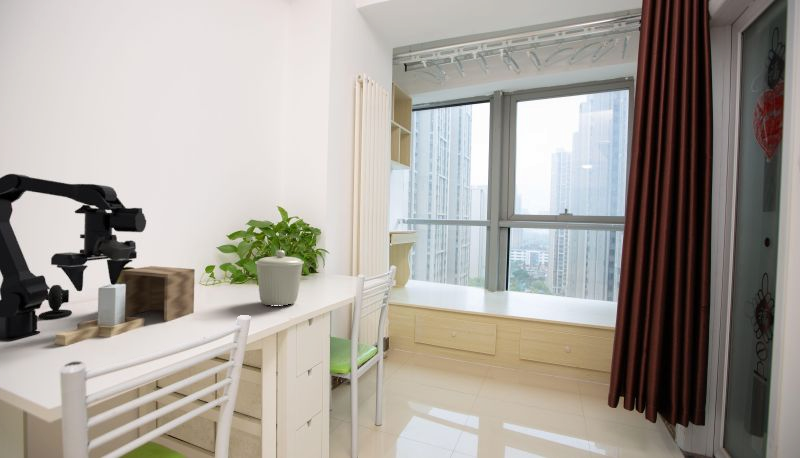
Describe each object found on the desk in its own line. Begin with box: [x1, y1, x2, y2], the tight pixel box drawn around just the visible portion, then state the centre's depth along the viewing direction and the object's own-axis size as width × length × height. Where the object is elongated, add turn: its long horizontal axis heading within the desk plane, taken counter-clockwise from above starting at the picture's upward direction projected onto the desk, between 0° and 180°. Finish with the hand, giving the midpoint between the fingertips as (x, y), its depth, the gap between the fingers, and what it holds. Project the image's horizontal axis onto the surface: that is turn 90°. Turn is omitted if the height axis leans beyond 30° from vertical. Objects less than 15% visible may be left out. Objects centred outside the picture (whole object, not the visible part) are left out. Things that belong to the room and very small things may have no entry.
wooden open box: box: [121, 265, 196, 323], centre depth 114 cm, size 11×17×15 cm, turn 80°
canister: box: [254, 249, 305, 306], centre depth 134 cm, size 18×18×21 cm
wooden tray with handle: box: [54, 316, 145, 346], centre depth 95 cm, size 18×11×3 cm, turn 170°
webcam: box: [37, 284, 73, 321], centre depth 108 cm, size 8×8×10 cm
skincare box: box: [97, 283, 126, 327], centre depth 99 cm, size 6×4×12 cm
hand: (97, 287), depth 94 cm, fingers open, 9 cm apart
